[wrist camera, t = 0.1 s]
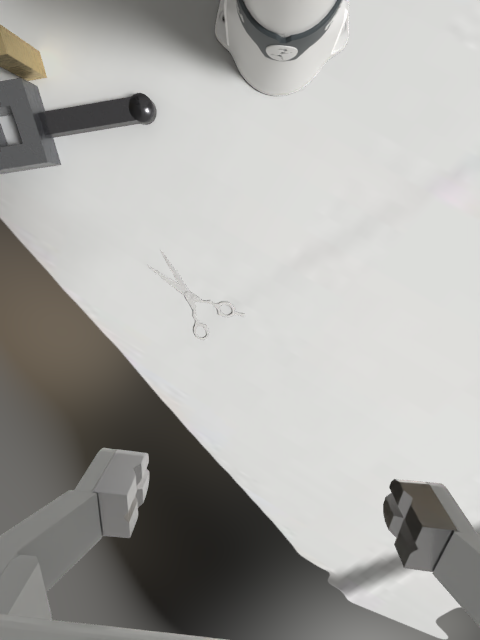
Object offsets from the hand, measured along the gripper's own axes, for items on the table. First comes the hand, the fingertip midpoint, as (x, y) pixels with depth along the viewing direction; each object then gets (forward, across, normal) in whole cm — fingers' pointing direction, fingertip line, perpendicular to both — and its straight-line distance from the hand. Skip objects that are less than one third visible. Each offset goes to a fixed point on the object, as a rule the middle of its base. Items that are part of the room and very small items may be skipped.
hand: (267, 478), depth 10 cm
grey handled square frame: (+48, +32, -17) cm, 60 cm away
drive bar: (+48, +37, -25) cm, 65 cm away
